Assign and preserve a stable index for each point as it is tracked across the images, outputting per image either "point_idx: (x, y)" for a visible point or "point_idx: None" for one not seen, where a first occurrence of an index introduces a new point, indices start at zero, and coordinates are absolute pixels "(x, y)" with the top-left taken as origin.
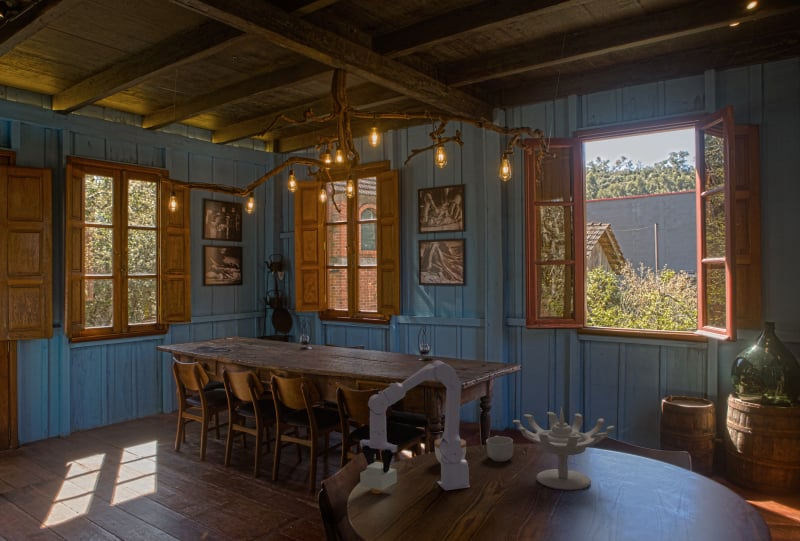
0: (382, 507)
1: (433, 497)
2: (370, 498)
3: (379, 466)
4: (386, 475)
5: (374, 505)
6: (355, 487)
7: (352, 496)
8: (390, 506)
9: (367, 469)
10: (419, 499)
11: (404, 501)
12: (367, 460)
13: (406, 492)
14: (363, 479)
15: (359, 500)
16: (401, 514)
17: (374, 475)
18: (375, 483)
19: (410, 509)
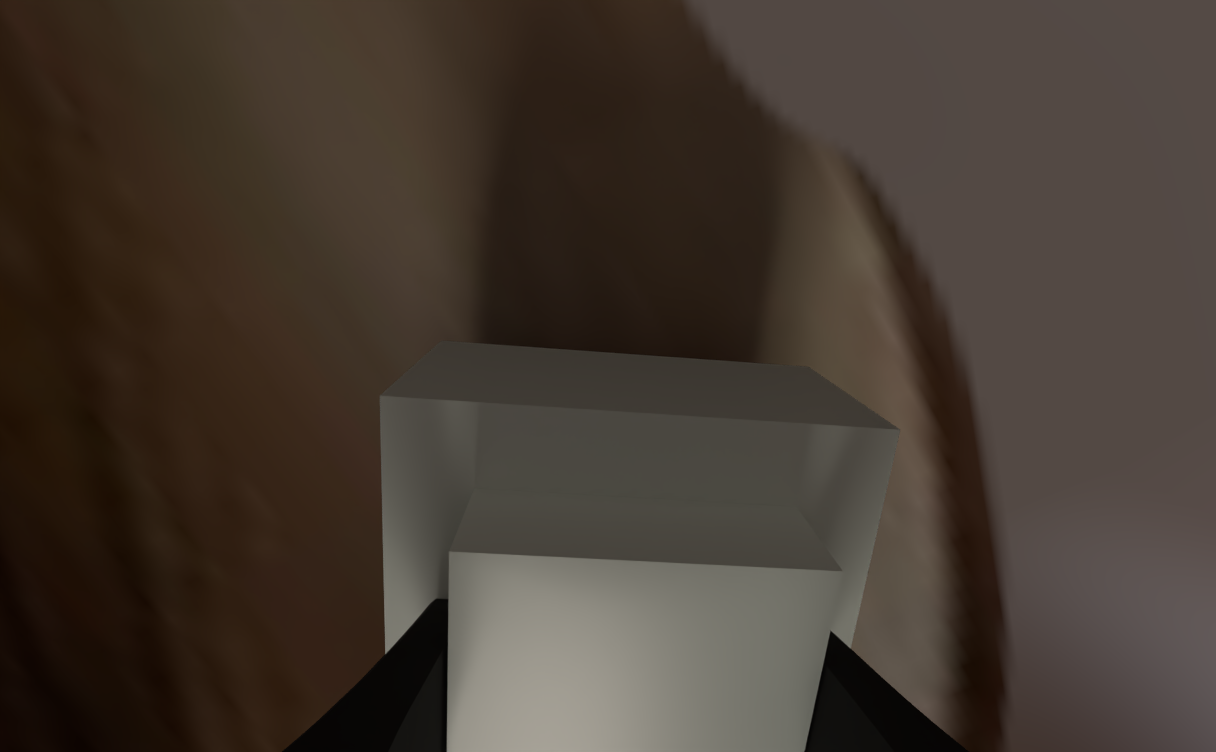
0: (335, 130)
1: (46, 611)
2: (613, 301)
3: (564, 672)
4: (389, 541)
5: (454, 139)
6: (924, 488)
7: (835, 257)
8: (272, 201)
9: (794, 532)
10: (129, 510)
11: (228, 397)
12: (918, 736)
13: (361, 602)
14: (785, 389)
15: (699, 190)
16: (3, 45)
17: (560, 417)
18: (543, 367)
19: (21, 231)
